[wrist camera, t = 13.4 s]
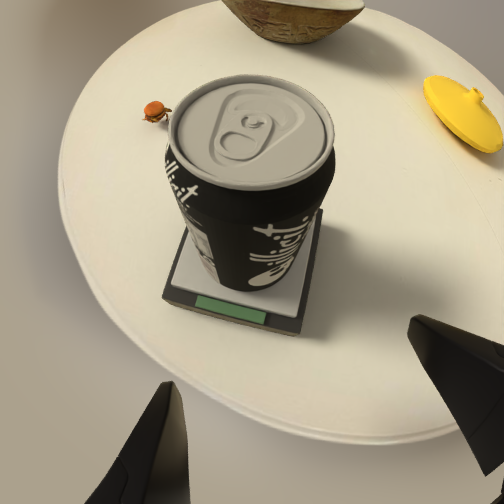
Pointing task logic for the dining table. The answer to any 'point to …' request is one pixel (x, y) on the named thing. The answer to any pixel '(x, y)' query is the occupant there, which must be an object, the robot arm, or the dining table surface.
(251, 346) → the dining table surface
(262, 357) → the dining table surface
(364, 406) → the dining table surface
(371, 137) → the dining table surface
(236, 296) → the scale
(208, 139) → the beverage can
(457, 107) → the vase
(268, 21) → the bowl
